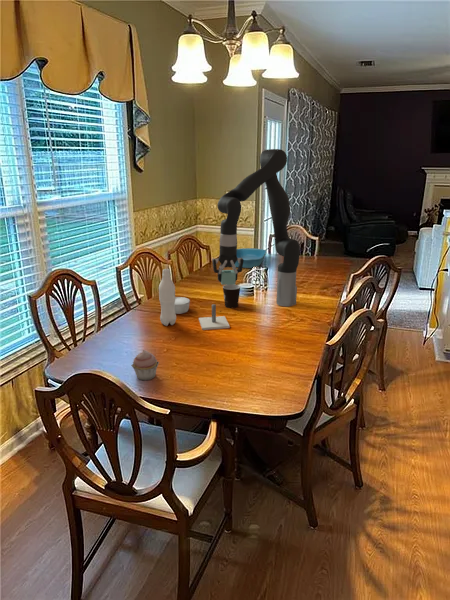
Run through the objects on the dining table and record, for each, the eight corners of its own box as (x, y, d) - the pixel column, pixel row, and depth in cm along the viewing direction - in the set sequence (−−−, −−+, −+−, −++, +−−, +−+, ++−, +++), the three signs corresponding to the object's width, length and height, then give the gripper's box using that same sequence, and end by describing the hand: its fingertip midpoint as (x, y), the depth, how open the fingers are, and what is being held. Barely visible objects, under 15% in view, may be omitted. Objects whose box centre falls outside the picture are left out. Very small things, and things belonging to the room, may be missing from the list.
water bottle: (179, 321, 202) (177, 268, 194) (172, 327, 196) (170, 272, 188) (164, 319, 205) (162, 267, 196) (157, 325, 198) (154, 271, 190)
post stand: (224, 318, 207) (224, 299, 204) (229, 327, 196) (229, 308, 193) (198, 319, 205) (198, 301, 202) (202, 329, 193) (202, 310, 190)
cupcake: (139, 368, 160) (138, 342, 157) (163, 372, 158) (162, 346, 154) (127, 380, 152) (125, 354, 148) (152, 384, 149) (150, 357, 146)
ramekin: (177, 305, 224) (177, 295, 222) (194, 309, 217) (194, 299, 216) (162, 311, 215) (161, 301, 213) (179, 316, 209) (179, 306, 207)
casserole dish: (237, 256, 323) (237, 246, 321) (267, 257, 319) (268, 248, 316) (226, 269, 289) (226, 258, 287) (260, 271, 285) (260, 260, 282)
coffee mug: (238, 309, 217) (238, 290, 214) (221, 308, 219) (221, 288, 216) (242, 301, 228) (242, 283, 225) (225, 300, 230) (225, 282, 227)
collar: (232, 280, 202) (233, 269, 200) (235, 284, 196) (235, 273, 195) (219, 280, 201) (219, 270, 199) (222, 284, 195) (222, 273, 194)
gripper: (242, 242, 198) (241, 278, 203) (210, 242, 195) (210, 279, 201) (246, 245, 191) (245, 283, 196) (213, 246, 188) (212, 284, 194)
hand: (227, 281), depth 199 cm, fingers closed on collar, 6 cm apart
